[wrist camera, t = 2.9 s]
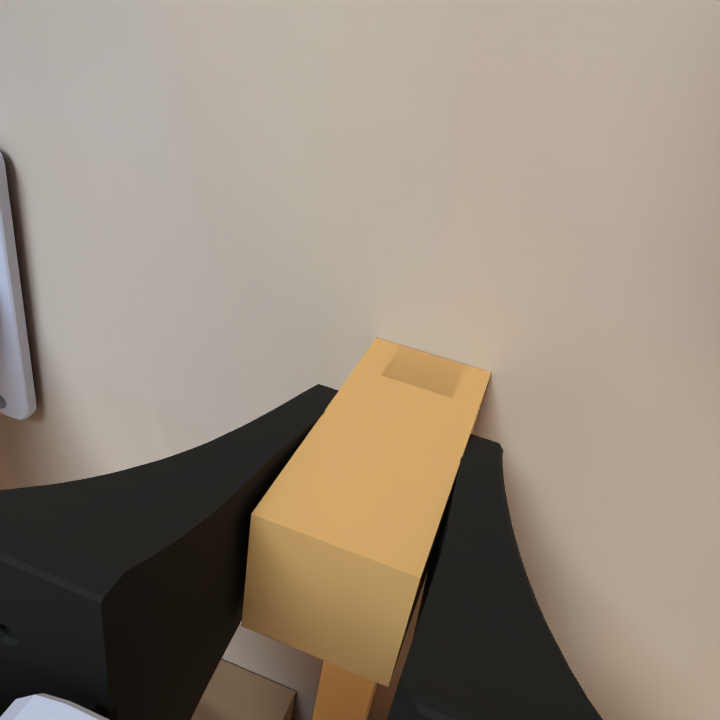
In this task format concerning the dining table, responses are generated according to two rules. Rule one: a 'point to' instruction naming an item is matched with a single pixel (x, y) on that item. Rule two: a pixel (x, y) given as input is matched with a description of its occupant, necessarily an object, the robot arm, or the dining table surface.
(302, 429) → the robot arm
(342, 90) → the dining table surface
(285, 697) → the walnut l-shaped block
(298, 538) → the light wooden mallet
